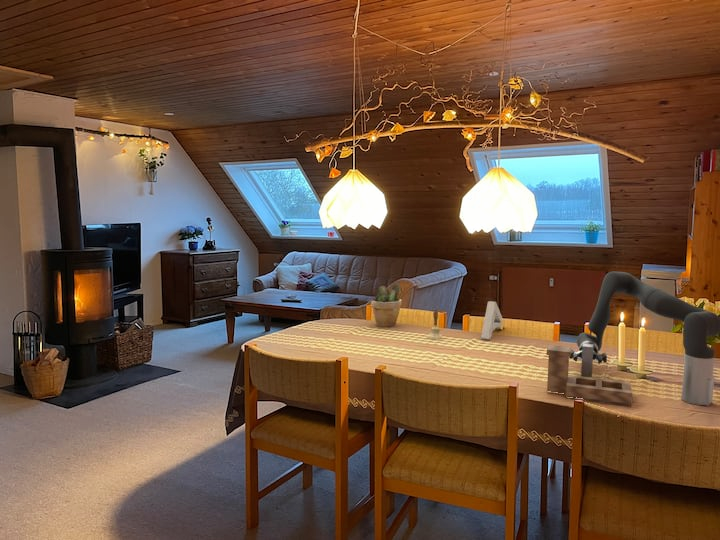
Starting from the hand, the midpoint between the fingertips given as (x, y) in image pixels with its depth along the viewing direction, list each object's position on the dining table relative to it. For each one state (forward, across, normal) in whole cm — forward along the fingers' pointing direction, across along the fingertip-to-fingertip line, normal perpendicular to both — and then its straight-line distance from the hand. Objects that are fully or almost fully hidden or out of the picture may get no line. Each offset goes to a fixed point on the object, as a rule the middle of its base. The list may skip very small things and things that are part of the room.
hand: (587, 360), depth 222 cm
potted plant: (-71, -114, +10) cm, 135 cm away
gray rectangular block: (0, 0, +10) cm, 10 cm away
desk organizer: (+14, +1, +10) cm, 17 cm away
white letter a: (-76, -50, +10) cm, 92 cm away
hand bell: (-53, -78, +10) cm, 95 cm away
